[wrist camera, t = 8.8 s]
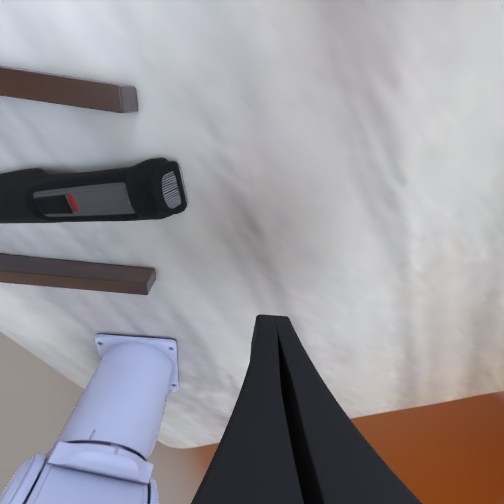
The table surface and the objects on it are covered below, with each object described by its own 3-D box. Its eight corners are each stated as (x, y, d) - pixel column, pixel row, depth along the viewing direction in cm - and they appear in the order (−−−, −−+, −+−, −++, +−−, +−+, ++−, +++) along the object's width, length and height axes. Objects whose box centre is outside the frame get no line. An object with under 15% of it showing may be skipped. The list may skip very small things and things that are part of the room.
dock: (155, 279, 21) (147, 295, 19) (-50, 260, 19) (-79, 275, 18) (135, 86, 13) (119, 85, 12) (-198, 35, 12) (-271, 25, 10)
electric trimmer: (-57, 168, 16) (-119, 183, 13) (177, 154, 15) (162, 166, 13) (-19, 220, 18) (-66, 242, 15) (189, 209, 17) (178, 230, 15)
